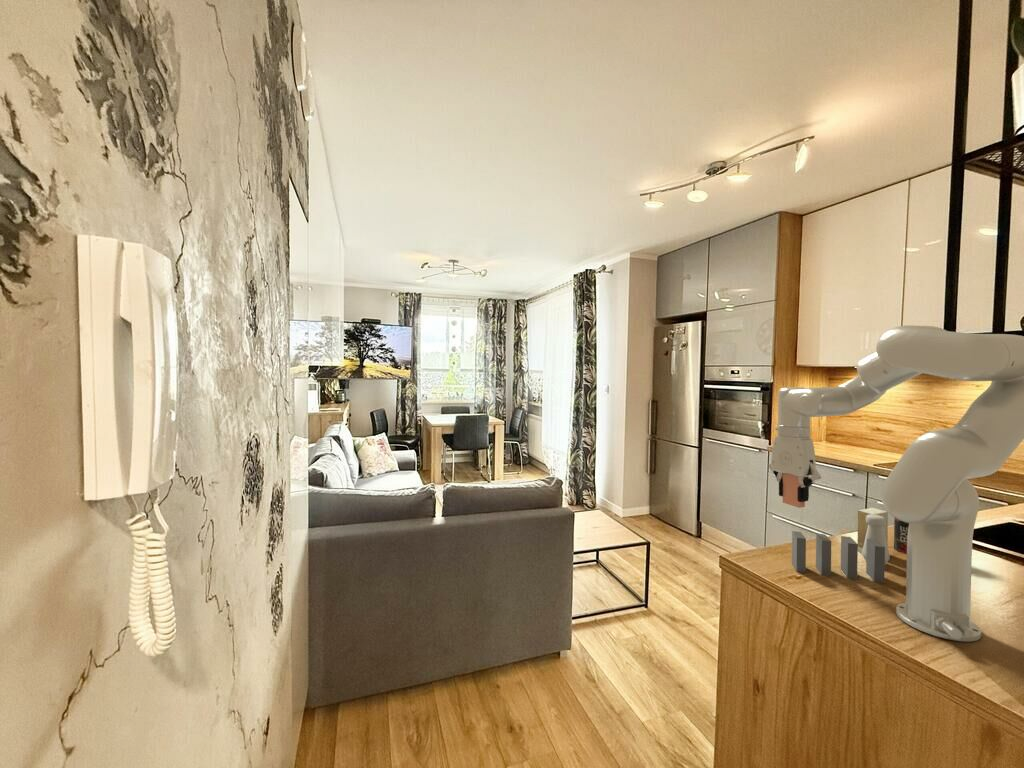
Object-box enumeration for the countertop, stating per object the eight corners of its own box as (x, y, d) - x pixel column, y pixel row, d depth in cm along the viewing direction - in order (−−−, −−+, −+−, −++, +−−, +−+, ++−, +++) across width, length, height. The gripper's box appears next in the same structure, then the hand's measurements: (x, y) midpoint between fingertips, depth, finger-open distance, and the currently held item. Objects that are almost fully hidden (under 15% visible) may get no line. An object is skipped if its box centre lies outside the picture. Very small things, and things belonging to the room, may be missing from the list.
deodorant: (893, 551, 127) (894, 499, 126) (893, 544, 131) (894, 494, 131) (922, 556, 123) (923, 503, 122) (920, 550, 127) (921, 498, 127)
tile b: (830, 576, 112) (831, 541, 112) (821, 575, 113) (822, 540, 112) (824, 568, 117) (825, 534, 116) (815, 566, 117) (816, 533, 117)
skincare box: (871, 548, 129) (872, 507, 128) (888, 554, 125) (889, 511, 124) (856, 551, 127) (856, 509, 126) (872, 557, 123) (873, 514, 122)
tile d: (884, 583, 108) (884, 547, 108) (874, 582, 109) (874, 546, 109) (875, 574, 113) (876, 539, 113) (866, 573, 114) (866, 538, 113)
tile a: (805, 573, 114) (805, 538, 114) (796, 571, 115) (796, 537, 114) (800, 565, 119) (800, 531, 118) (791, 563, 119) (792, 531, 119)
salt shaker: (879, 559, 122) (880, 512, 121) (895, 568, 116) (896, 519, 115) (856, 558, 122) (857, 512, 122) (871, 567, 116) (872, 519, 116)
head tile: (804, 506, 119) (805, 473, 119) (799, 507, 119) (799, 474, 118) (787, 501, 124) (788, 469, 124) (782, 502, 123) (782, 470, 123)
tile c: (857, 579, 110) (857, 544, 110) (847, 578, 111) (848, 543, 110) (849, 571, 115) (850, 536, 114) (840, 570, 115) (841, 536, 115)
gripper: (756, 429, 128) (756, 491, 128) (813, 437, 111) (813, 509, 112) (776, 427, 130) (776, 489, 130) (835, 435, 114) (834, 505, 114)
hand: (793, 497), depth 121 cm, fingers closed on head tile, 4 cm apart
